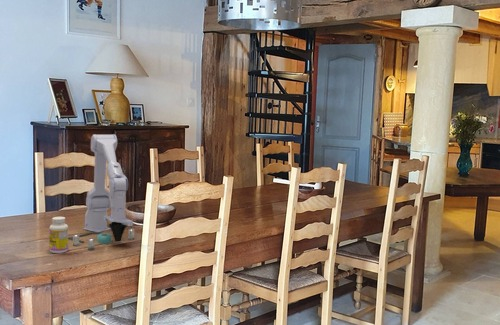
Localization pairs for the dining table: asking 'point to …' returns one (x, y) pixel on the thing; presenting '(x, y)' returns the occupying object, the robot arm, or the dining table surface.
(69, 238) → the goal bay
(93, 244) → the spacer field
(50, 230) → the supplement bottle
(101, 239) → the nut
